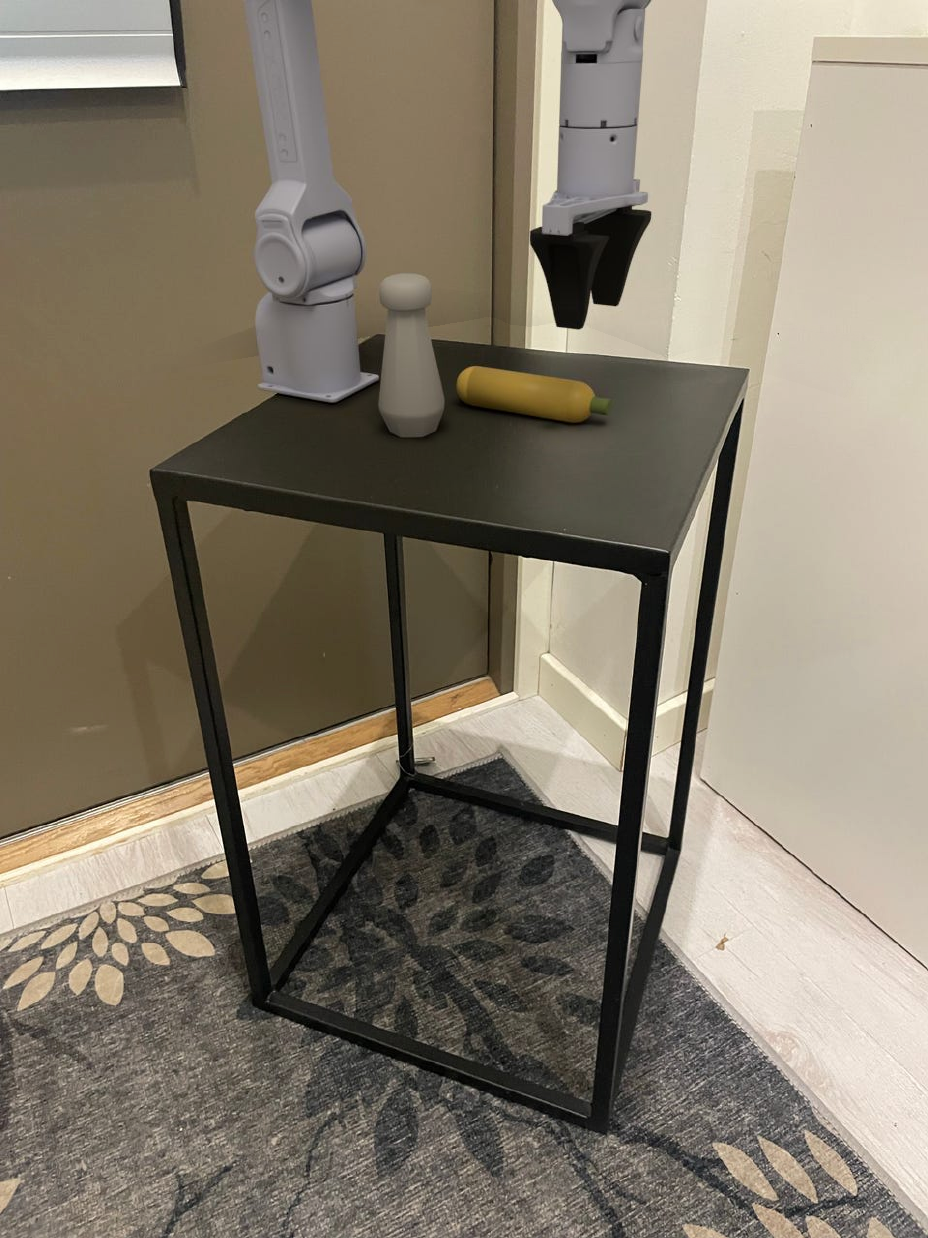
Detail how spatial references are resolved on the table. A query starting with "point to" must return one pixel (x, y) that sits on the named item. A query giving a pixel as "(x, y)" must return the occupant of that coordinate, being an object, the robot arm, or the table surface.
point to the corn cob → (530, 394)
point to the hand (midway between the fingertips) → (588, 315)
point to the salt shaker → (409, 359)
